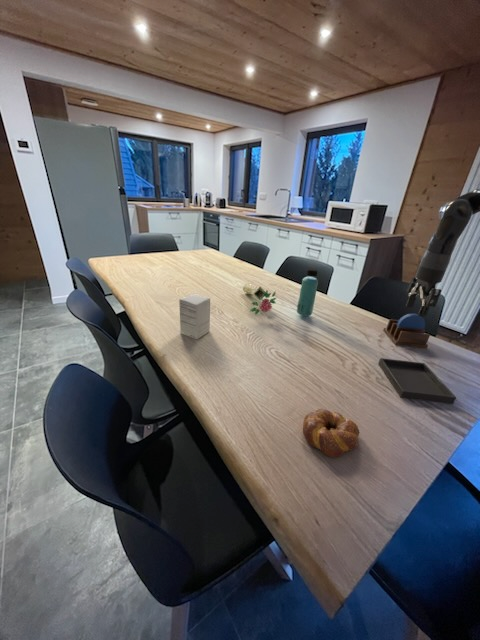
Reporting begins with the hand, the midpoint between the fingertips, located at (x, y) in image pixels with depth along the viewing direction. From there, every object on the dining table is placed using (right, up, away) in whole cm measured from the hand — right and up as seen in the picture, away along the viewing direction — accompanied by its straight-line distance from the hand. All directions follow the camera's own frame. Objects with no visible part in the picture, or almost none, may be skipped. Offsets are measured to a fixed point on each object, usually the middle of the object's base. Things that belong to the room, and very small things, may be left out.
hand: (414, 311), depth 93 cm
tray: (-13, -21, -19) cm, 31 cm away
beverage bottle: (-36, -2, +17) cm, 39 cm away
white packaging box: (-77, -8, -3) cm, 78 cm away
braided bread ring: (-43, -28, -38) cm, 64 cm away
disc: (0, -5, +2) cm, 6 cm away
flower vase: (-55, +3, +22) cm, 59 cm away
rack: (-1, -10, +5) cm, 11 cm away
